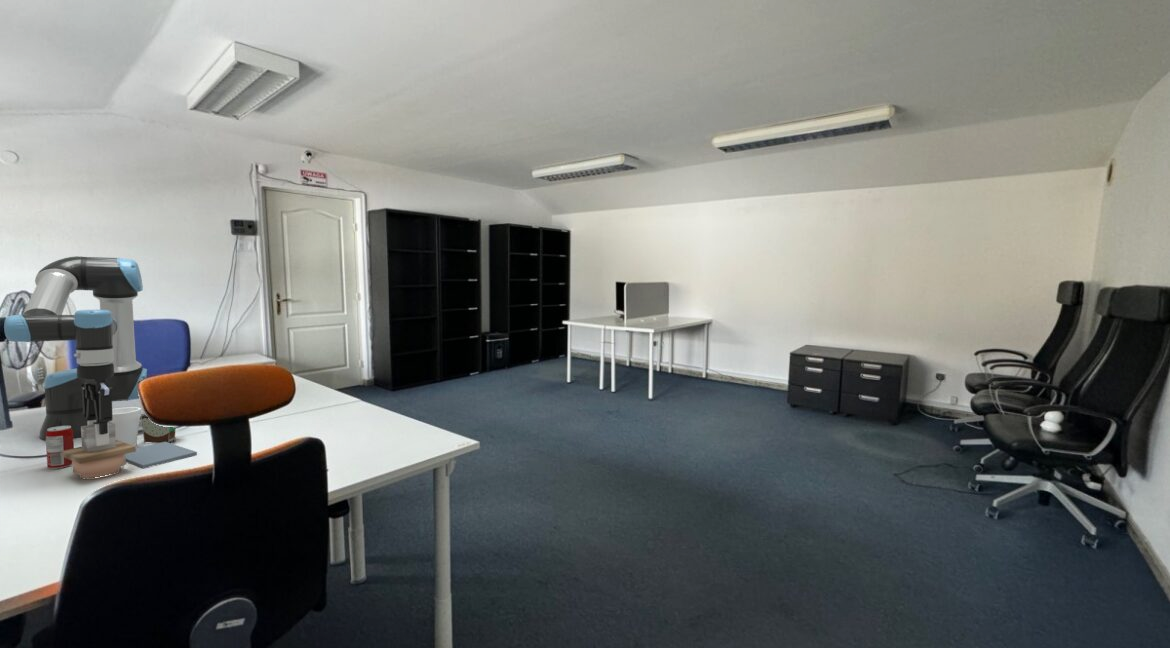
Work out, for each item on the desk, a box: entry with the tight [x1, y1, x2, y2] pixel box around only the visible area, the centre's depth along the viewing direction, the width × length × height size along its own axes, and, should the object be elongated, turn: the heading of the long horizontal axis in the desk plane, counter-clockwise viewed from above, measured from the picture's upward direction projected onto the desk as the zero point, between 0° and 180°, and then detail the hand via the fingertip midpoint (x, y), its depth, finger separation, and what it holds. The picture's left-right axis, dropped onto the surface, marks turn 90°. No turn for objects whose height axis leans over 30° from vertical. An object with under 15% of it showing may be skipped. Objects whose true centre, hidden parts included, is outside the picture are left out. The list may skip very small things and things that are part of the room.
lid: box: [61, 422, 137, 464], centre depth 141 cm, size 12×12×8 cm
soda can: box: [45, 426, 75, 470], centre depth 146 cm, size 6×6×12 cm
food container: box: [140, 412, 177, 444], centre depth 172 cm, size 12×6×10 cm, turn 84°
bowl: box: [71, 454, 127, 480], centre depth 141 cm, size 11×11×6 cm
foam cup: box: [109, 406, 142, 448], centre depth 162 cm, size 10×9×13 cm
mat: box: [126, 442, 198, 469], centre depth 157 cm, size 20×14×1 cm
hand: (98, 443), depth 141 cm, fingers closed on lid, 4 cm apart
